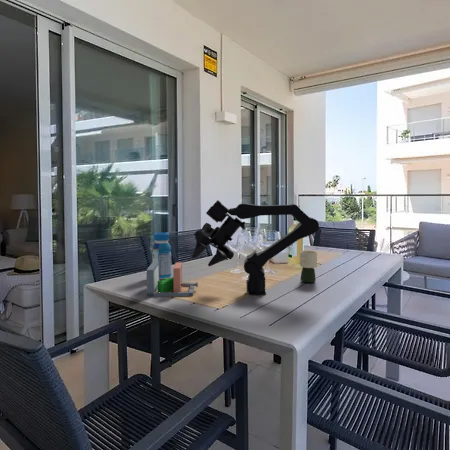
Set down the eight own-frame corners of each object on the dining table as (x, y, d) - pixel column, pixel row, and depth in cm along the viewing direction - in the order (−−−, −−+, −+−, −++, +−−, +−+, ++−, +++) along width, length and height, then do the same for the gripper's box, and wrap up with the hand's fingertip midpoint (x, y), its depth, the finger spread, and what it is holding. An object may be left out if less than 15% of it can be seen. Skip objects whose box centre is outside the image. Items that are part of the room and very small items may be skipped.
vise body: (194, 285, 148) (194, 261, 147) (192, 295, 133) (192, 269, 132) (152, 285, 147) (151, 261, 146) (145, 296, 132) (145, 269, 131)
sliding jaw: (198, 285, 146) (198, 262, 145) (197, 293, 135) (197, 268, 134) (176, 286, 146) (175, 262, 145) (173, 293, 135) (173, 268, 134)
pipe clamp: (167, 287, 146) (167, 276, 145) (176, 288, 144) (175, 277, 144) (153, 294, 135) (153, 282, 135) (162, 295, 134) (162, 283, 133)
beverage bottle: (167, 280, 156) (167, 234, 154) (149, 279, 158) (148, 234, 156) (174, 275, 165) (173, 232, 163) (157, 274, 166) (156, 231, 164)
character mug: (308, 278, 159) (308, 249, 158) (322, 281, 154) (323, 251, 153) (293, 282, 152) (293, 252, 151) (307, 285, 147) (308, 254, 146)
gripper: (230, 229, 148) (207, 258, 150) (201, 210, 135) (175, 241, 137) (245, 244, 140) (219, 274, 142) (215, 225, 127) (187, 258, 129)
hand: (200, 261), depth 137 cm, fingers open, 9 cm apart
